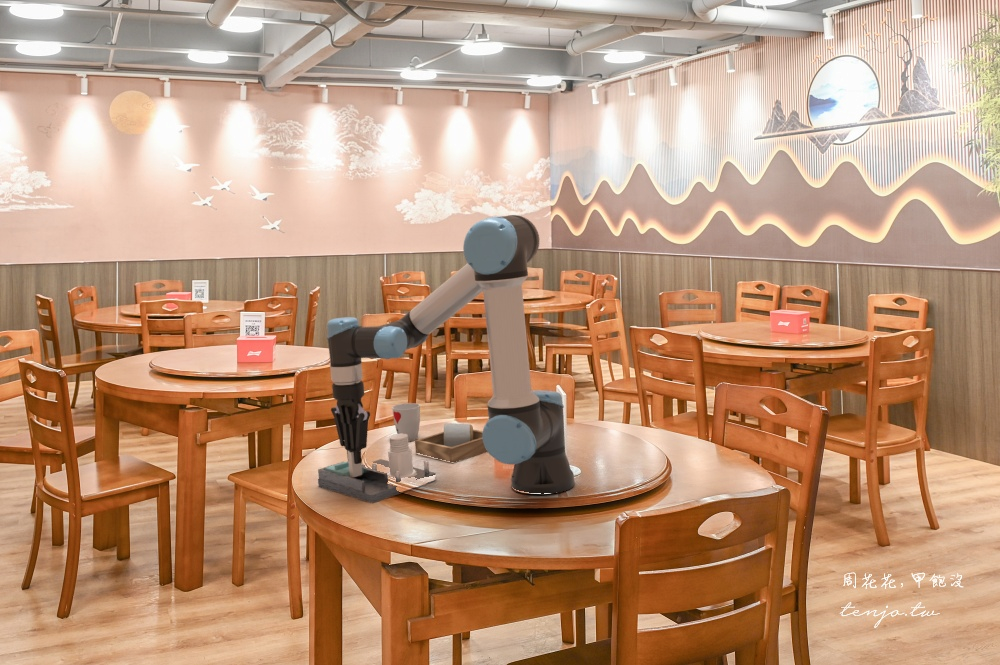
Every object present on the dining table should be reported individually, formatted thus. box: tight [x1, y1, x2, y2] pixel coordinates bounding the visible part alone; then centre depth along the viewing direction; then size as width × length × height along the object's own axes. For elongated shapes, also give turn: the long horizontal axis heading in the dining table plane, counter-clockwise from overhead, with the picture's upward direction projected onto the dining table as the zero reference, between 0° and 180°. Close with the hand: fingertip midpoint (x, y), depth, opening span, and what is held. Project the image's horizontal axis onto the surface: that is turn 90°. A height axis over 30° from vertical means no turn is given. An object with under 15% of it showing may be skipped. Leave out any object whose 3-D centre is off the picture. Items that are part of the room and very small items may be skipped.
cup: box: [391, 402, 421, 442], centre depth 266 cm, size 8×8×10 cm
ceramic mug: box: [443, 422, 474, 447], centre depth 253 cm, size 11×8×8 cm
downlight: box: [387, 433, 416, 478], centre depth 225 cm, size 8×7×10 cm
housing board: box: [317, 459, 437, 504], centre depth 226 cm, size 22×20×5 cm
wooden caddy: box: [414, 428, 488, 463], centre depth 250 cm, size 15×17×4 cm
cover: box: [325, 461, 364, 477], centre depth 225 cm, size 8×6×2 cm
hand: (356, 475), depth 222 cm, fingers closed
